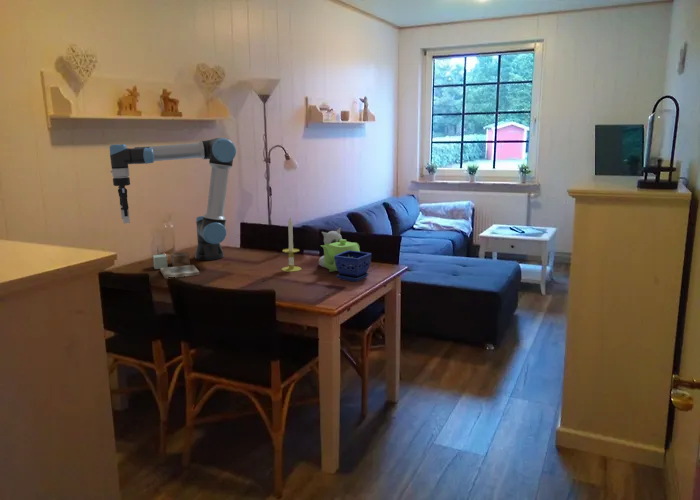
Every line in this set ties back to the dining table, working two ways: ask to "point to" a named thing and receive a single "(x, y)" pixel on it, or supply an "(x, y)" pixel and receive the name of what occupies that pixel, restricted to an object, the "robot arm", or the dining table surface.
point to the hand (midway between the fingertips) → (125, 221)
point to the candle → (291, 250)
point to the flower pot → (352, 265)
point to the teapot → (337, 252)
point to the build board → (179, 271)
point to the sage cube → (160, 261)
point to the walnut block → (180, 259)
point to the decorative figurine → (330, 241)
